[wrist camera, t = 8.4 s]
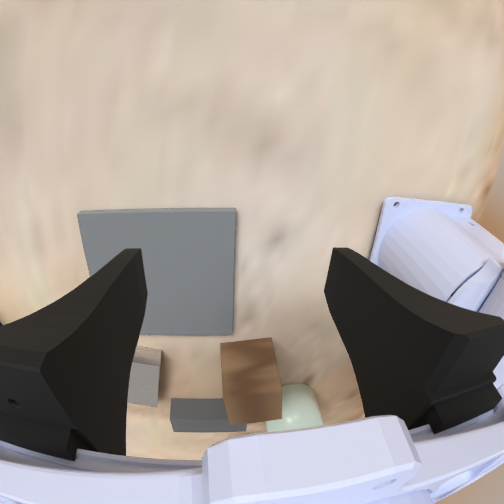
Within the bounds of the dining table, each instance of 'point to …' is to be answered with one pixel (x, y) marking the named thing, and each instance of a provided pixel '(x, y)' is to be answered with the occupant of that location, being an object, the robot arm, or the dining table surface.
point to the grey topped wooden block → (145, 377)
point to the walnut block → (251, 381)
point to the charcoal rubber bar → (201, 416)
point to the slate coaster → (172, 263)
